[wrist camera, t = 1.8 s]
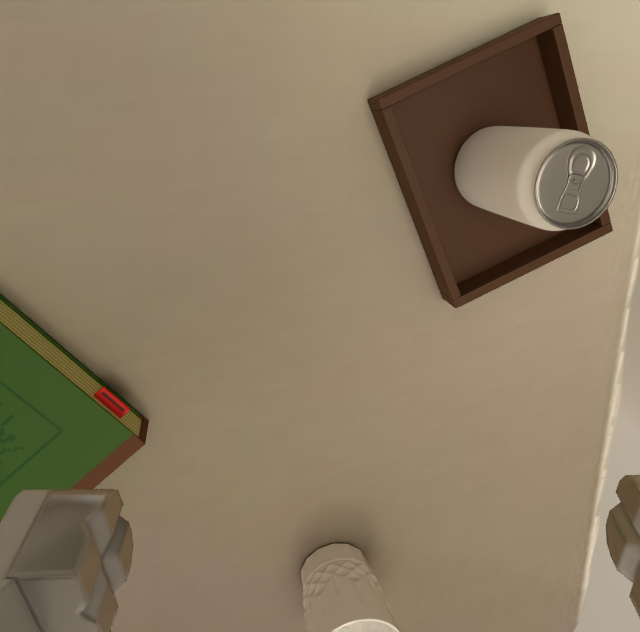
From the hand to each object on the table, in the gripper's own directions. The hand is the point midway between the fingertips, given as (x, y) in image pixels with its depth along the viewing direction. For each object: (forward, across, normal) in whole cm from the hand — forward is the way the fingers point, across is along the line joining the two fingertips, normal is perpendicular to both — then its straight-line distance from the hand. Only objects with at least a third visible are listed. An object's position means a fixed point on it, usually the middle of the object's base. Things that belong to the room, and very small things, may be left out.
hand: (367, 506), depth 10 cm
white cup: (+30, +1, +45) cm, 54 cm away
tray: (+41, -12, +8) cm, 44 cm away
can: (+41, -12, +8) cm, 43 cm away
